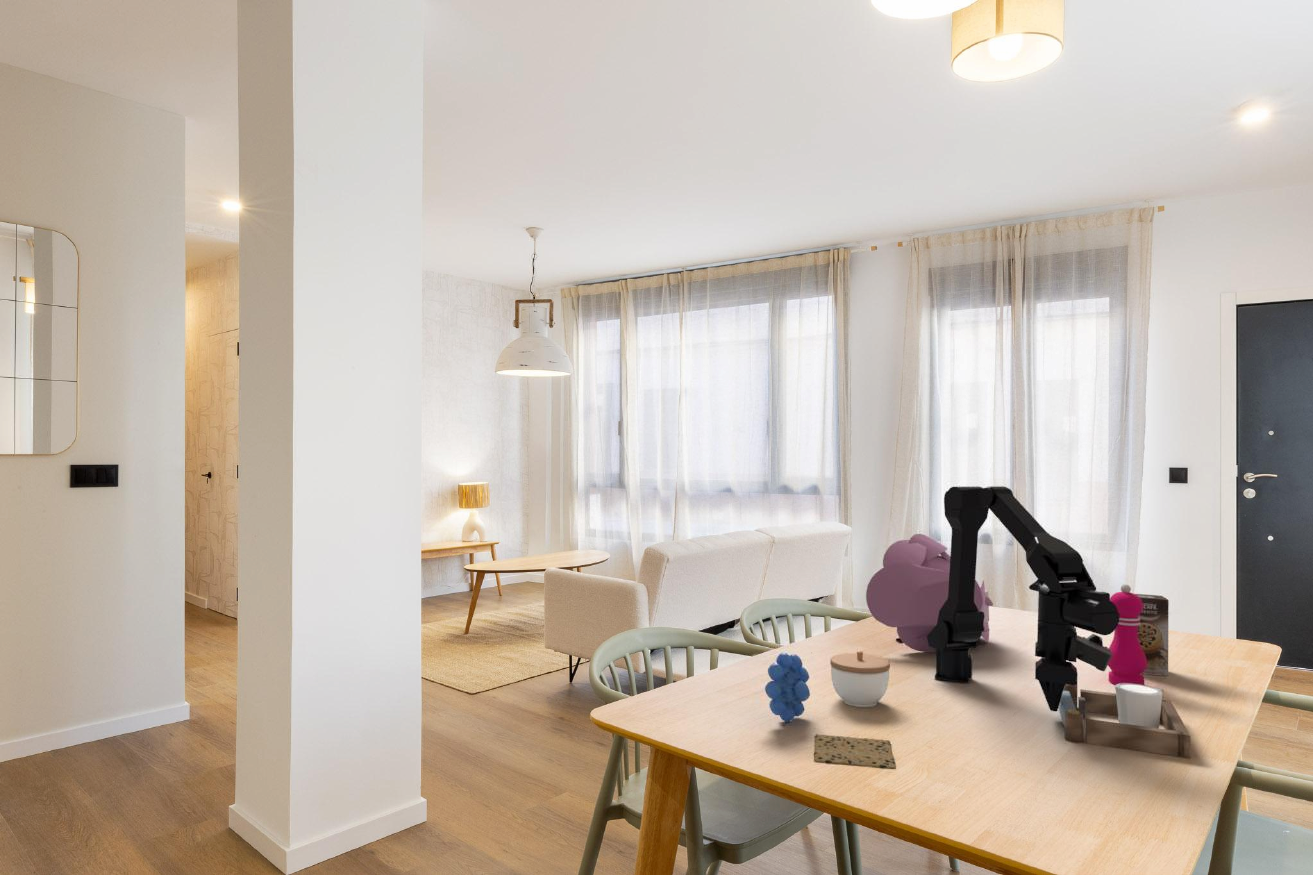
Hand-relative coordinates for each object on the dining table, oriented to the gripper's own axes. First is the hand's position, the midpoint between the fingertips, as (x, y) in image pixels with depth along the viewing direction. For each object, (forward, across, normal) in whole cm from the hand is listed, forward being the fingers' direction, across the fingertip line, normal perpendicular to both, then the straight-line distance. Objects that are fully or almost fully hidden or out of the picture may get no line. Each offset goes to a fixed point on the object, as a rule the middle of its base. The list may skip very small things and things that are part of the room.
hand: (1053, 709), depth 137 cm
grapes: (+2, -23, +40) cm, 46 cm away
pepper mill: (+2, +31, -14) cm, 34 cm away
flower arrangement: (+4, +50, +25) cm, 56 cm away
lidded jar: (+3, -6, +32) cm, 33 cm away
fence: (+1, -1, -10) cm, 10 cm away
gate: (+1, 0, -2) cm, 3 cm away
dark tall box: (+3, +44, -18) cm, 48 cm away
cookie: (+2, -31, +28) cm, 42 cm away
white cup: (+2, 0, -13) cm, 13 cm away
